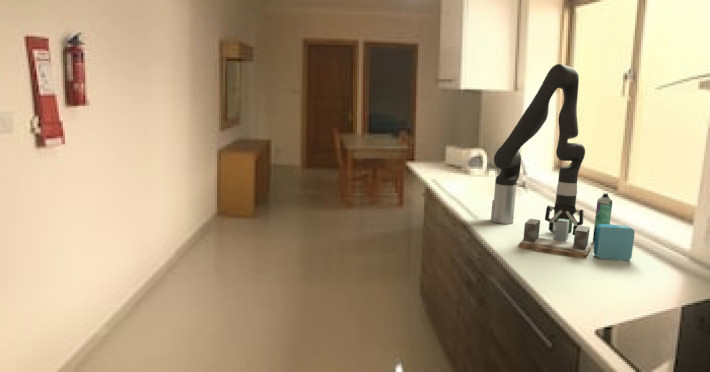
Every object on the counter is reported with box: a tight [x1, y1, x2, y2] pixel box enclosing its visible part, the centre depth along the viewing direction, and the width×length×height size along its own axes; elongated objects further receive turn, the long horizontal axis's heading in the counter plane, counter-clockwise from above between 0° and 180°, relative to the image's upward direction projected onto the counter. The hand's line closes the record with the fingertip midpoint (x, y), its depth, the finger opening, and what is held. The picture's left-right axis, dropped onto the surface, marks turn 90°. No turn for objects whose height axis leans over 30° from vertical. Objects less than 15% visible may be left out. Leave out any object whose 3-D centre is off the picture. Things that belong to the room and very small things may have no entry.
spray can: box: [592, 192, 613, 244], centre depth 231 cm, size 6×6×20 cm
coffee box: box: [553, 201, 573, 233], centre depth 246 cm, size 8×3×13 cm, turn 107°
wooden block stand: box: [518, 218, 592, 260], centre depth 220 cm, size 24×14×9 cm, turn 62°
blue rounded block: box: [593, 224, 636, 262], centre depth 210 cm, size 12×4×12 cm, turn 83°
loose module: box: [554, 219, 570, 242], centre depth 233 cm, size 4×7×8 cm, turn 152°
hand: (562, 233), depth 233 cm, fingers open, 8 cm apart
